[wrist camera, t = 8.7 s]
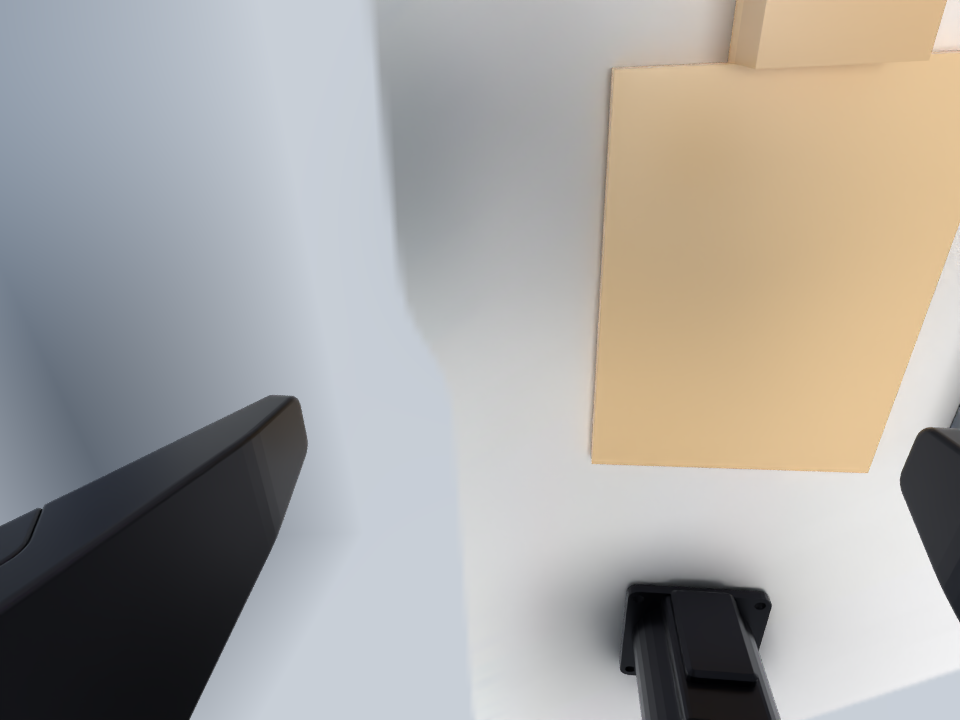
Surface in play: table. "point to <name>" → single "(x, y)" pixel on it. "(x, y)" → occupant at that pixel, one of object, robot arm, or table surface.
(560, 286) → the table surface
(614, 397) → the tan board with handle
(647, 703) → the robot arm
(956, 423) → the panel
